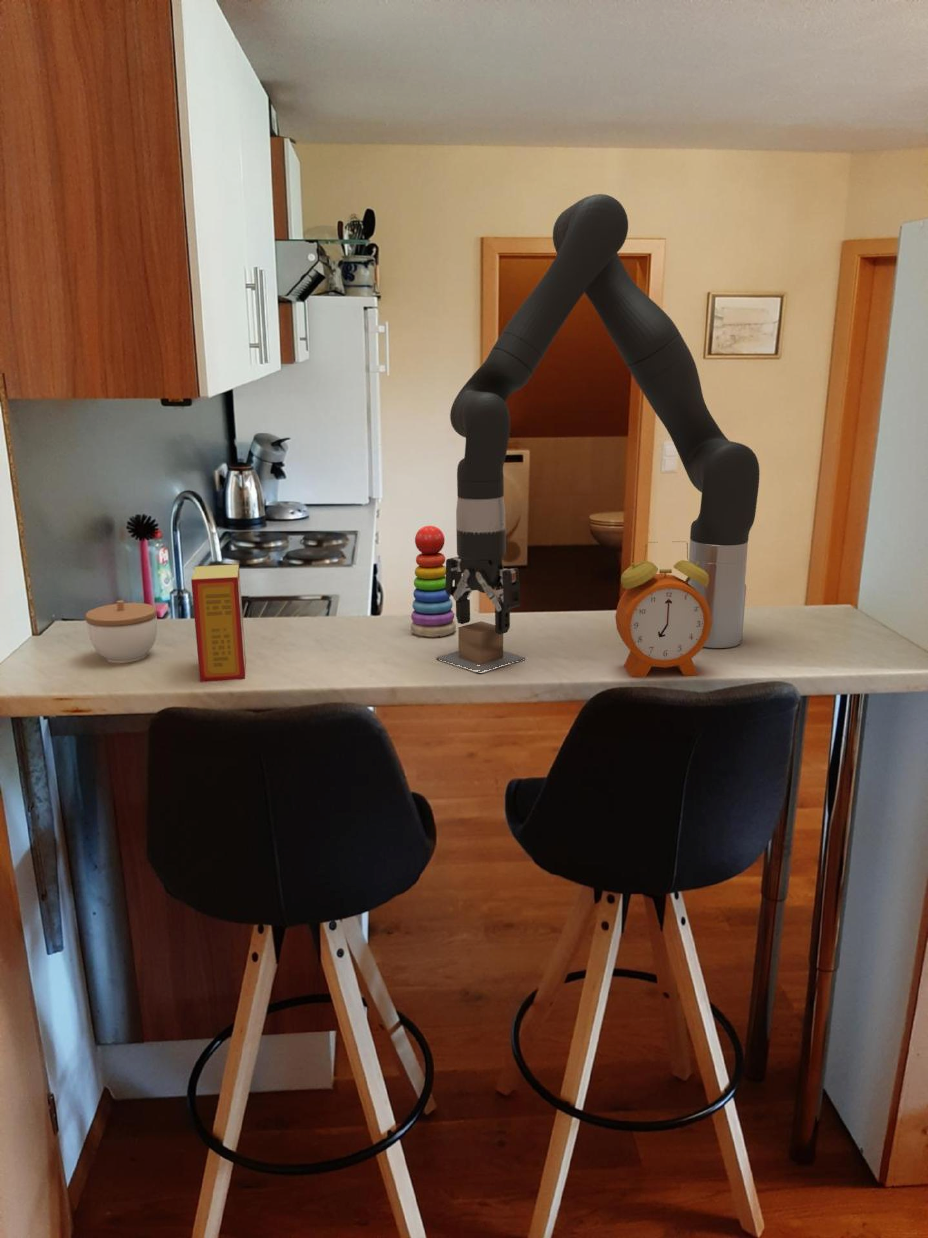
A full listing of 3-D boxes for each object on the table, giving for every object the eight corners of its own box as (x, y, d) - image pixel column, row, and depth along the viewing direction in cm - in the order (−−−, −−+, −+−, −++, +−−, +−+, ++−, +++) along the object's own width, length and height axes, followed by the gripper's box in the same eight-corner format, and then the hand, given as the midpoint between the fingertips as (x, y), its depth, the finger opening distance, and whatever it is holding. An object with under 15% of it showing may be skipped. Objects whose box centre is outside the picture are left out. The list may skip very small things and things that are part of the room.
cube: (481, 650, 152) (481, 621, 150) (503, 657, 148) (503, 627, 147) (458, 657, 148) (458, 627, 147) (480, 664, 145) (480, 633, 144)
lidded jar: (111, 672, 144) (104, 613, 141) (78, 658, 151) (71, 601, 148) (173, 656, 151) (168, 600, 149) (139, 643, 158) (134, 589, 156)
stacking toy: (458, 626, 167) (457, 522, 162) (453, 639, 160) (452, 530, 154) (414, 625, 168) (412, 521, 163) (407, 638, 160) (404, 530, 155)
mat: (481, 646, 155) (481, 644, 155) (525, 659, 148) (525, 657, 148) (436, 659, 149) (436, 657, 149) (479, 674, 142) (479, 671, 142)
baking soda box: (203, 662, 148) (195, 563, 144) (245, 659, 149) (238, 561, 145) (200, 682, 139) (191, 577, 135) (245, 678, 140) (237, 575, 136)
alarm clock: (622, 678, 140) (627, 547, 134) (613, 665, 145) (618, 538, 140) (709, 676, 140) (718, 545, 135) (696, 663, 146) (704, 537, 141)
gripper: (532, 528, 140) (531, 631, 144) (466, 517, 150) (468, 615, 154) (496, 535, 135) (497, 642, 140) (431, 523, 145) (434, 624, 150)
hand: (482, 627), depth 147 cm, fingers open, 8 cm apart
